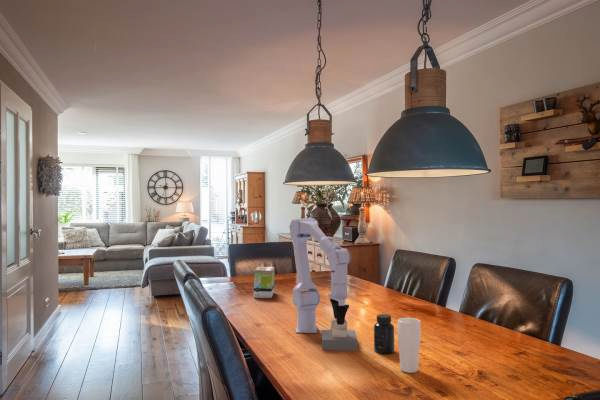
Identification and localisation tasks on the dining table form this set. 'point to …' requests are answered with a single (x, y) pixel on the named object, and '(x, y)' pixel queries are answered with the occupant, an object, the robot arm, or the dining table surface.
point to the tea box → (264, 282)
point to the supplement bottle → (384, 335)
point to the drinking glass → (409, 343)
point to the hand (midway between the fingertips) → (338, 321)
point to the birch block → (338, 329)
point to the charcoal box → (339, 341)
